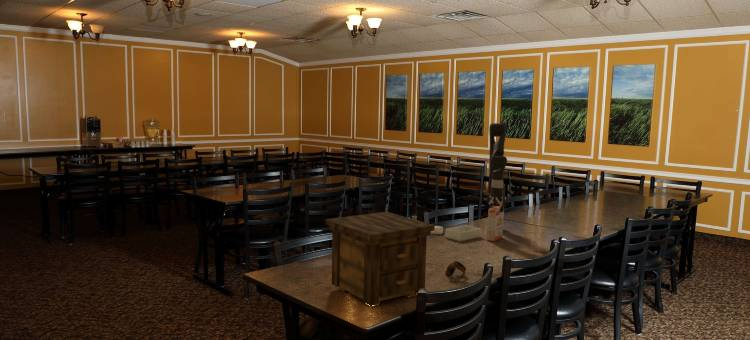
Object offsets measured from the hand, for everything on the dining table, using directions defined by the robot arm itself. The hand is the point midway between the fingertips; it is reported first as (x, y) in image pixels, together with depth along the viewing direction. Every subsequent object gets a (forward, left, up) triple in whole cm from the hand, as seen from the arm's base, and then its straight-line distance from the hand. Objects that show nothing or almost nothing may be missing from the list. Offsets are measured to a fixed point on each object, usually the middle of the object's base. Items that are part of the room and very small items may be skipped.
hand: (496, 211), depth 341 cm
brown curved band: (+79, +36, -19) cm, 89 cm away
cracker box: (0, 0, -19) cm, 19 cm away
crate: (+126, +32, -19) cm, 132 cm away
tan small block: (+19, -34, -19) cm, 43 cm away
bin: (+14, -15, -19) cm, 28 cm away
